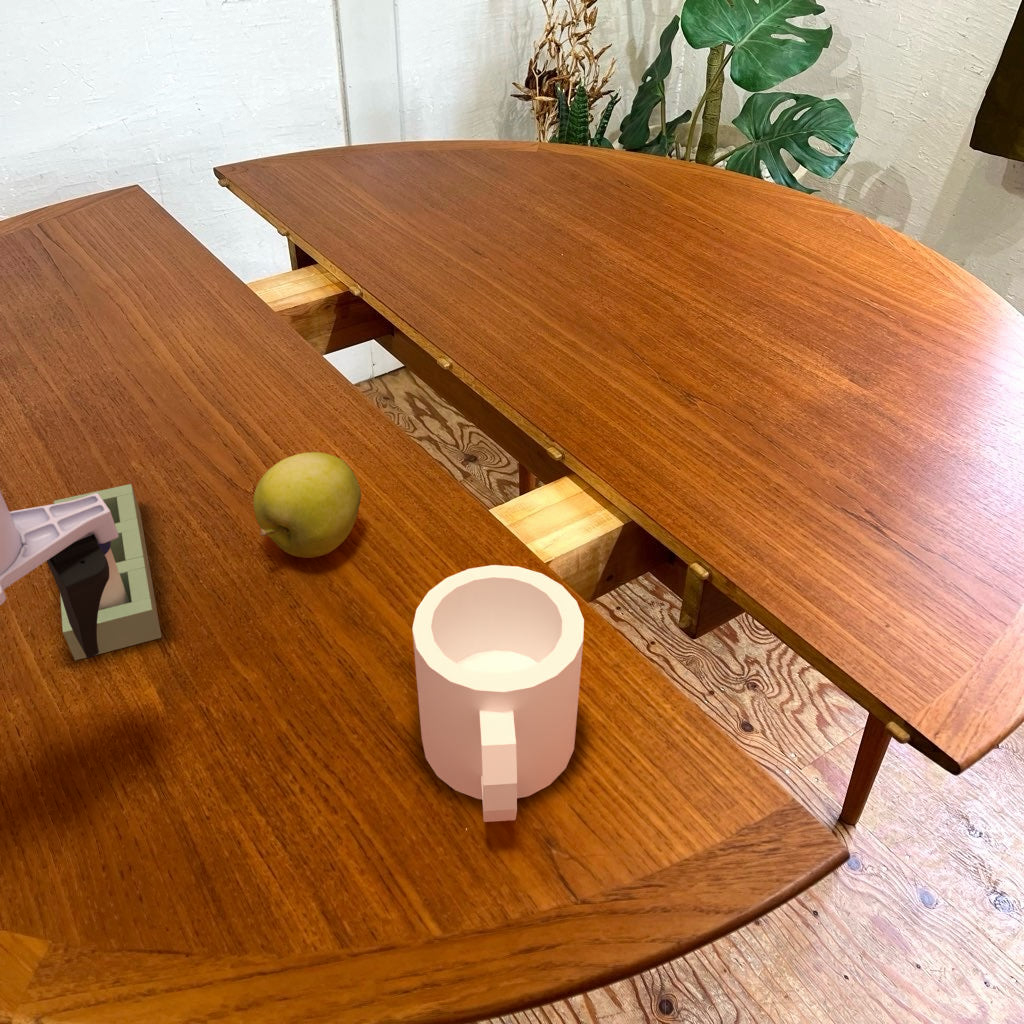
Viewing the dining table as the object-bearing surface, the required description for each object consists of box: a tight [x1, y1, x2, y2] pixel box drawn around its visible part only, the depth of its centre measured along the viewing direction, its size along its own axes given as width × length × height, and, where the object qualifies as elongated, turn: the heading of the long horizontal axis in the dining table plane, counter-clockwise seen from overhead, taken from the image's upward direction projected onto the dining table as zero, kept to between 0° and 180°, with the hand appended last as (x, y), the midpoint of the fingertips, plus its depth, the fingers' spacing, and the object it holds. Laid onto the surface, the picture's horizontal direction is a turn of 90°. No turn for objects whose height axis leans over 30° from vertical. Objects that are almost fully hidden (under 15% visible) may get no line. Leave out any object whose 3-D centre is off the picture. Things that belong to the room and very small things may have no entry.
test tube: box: [98, 541, 131, 611], centre depth 69 cm, size 3×3×8 cm
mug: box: [411, 564, 585, 823], centre depth 59 cm, size 14×10×11 cm
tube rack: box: [53, 483, 162, 661], centre depth 74 cm, size 15×6×3 cm, turn 22°
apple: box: [252, 451, 362, 559], centre depth 75 cm, size 8×9×8 cm
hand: (19, 676), depth 54 cm, fingers open, 7 cm apart
